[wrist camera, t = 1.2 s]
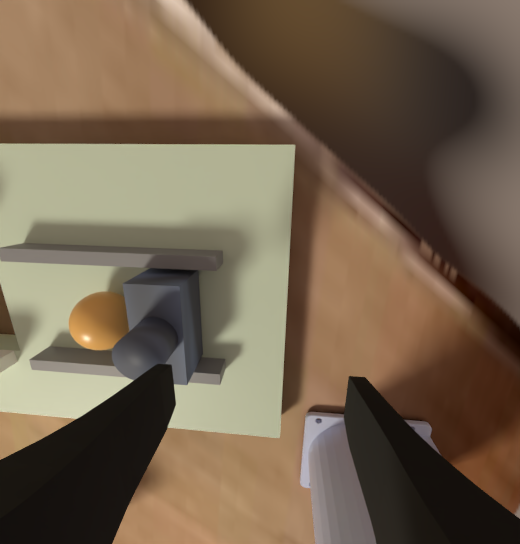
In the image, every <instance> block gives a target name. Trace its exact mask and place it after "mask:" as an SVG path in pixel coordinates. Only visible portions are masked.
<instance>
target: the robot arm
mask: <svg viewBox="0 0 520 544" xmlns="http://www.w3.org/2000/svg"><path fill="white" fill-rule="evenodd" d="M175 406H176V399H175V390H174V380H173V371H172V365H171V364H156V365H155V366H153V367H152V368H151V369H149V370H148V371H146V372H145V373H143V374H142V375H141V376H139V377H138V378H137V379H135V380H134V381H132V382H131V383H130V384H128V385H127V386H125V387H124V388H123V389H121V390H120V391H118V392H117V393H116V394H114V395H113V396H111V397H110V398H108V399H107V400H105V401H104V402H102V403H101V404H99V405H98V406H96V407H95V408H93V409H92V410H90V411H89V412H87V413H85V414H84V415H82V416H81V417H79V418H78V419H76V420H74V421H73V422H71V423H69V424H68V425H66V426H64V427H62V428H61V429H59V430H57V431H55V432H54V433H52V434H50V435H48V436H46V437H45V438H43V439H41V440H39V441H37V442H35V443H33V444H31V445H29V446H27V447H25V448H23V449H21V450H19V451H17V452H15V453H13V454H11V455H9V456H8V457H6V458H4V459H1V460H0V544H112V543H113V540H114V538H115V535H116V533H117V531H118V528H119V526H120V524H121V521H122V519H123V516H124V514H125V512H126V509H127V507H128V505H129V503H130V501H131V499H132V496H133V494H134V492H135V490H136V488H137V486H138V484H139V483H140V481H141V479H142V477H143V475H144V473H145V471H146V469H147V467H148V465H149V463H150V461H151V459H152V457H153V456H154V454H155V452H156V450H157V448H158V446H159V444H160V442H161V440H162V438H163V436H164V434H165V432H166V430H167V427H168V425H169V422H170V420H171V417H172V414H173V412H174V409H175ZM317 418H320V419H317ZM431 432H432V428H431V426H430V425H429V423H428V422H425V421H414V420H404V419H403V418H402V417H401V416H400V415H399V414H398V413H397V412H396V411H395V410H394V409H393V408H392V407H391V406H390V404H389V403H388V402H387V401H386V400H385V399H384V398H383V397H382V396H381V394H380V393H379V392H378V391H377V390H376V389H375V388H374V387H373V386H372V384H371V383H370V382H369V381H368V380H367V379H366V378H365V377H353V376H349V380H348V388H347V396H346V404H345V411H344V414H333V413H322V412H308V413H307V414H306V416H305V428H304V439H303V450H302V462H301V473H300V484H301V486H303V487H305V488H310V489H311V500H312V512H313V523H314V534H315V544H520V519H519V518H518V517H516V516H515V515H514V514H512V513H511V512H510V511H509V510H507V509H506V508H505V507H503V506H502V505H501V504H499V503H498V502H497V501H496V500H494V499H493V498H492V497H490V496H489V495H488V494H486V493H485V492H484V491H483V490H481V489H480V488H479V487H478V486H476V485H475V484H474V483H473V482H471V481H470V480H469V479H468V478H467V477H465V476H464V475H463V474H462V473H461V472H459V471H458V470H457V469H456V468H455V467H454V466H452V465H451V464H450V463H449V462H448V461H447V460H445V459H444V458H443V457H442V456H441V454H440V452H439V451H438V449H437V447H436V446H435V444H434V442H433V441H432V439H431V437H430V436H431Z"/></svg>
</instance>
